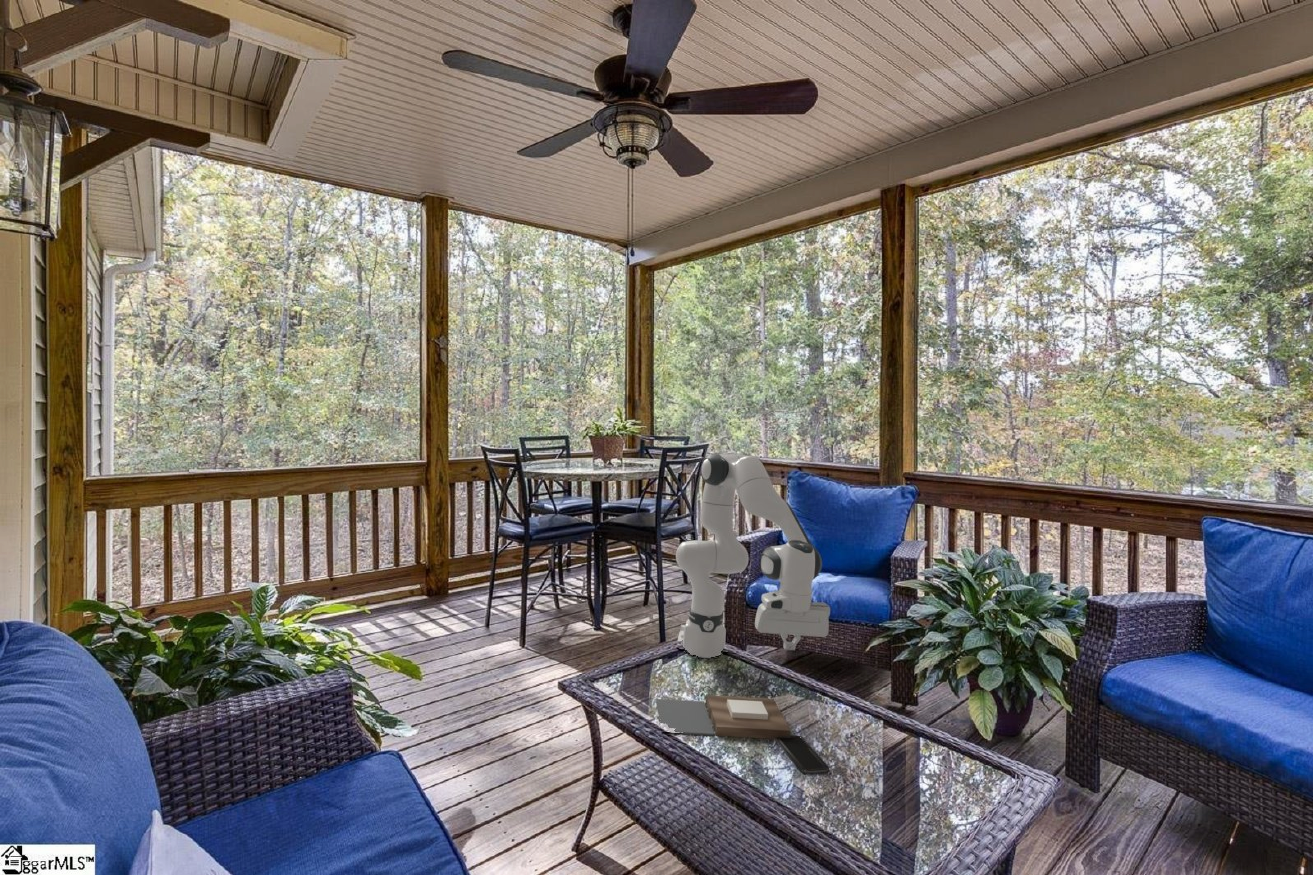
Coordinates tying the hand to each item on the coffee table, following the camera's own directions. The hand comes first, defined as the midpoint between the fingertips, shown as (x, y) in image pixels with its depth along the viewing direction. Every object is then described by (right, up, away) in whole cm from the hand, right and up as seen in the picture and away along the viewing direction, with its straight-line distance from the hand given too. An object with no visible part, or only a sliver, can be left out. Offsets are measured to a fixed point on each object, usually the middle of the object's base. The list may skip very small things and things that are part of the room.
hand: (789, 649), depth 168 cm
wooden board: (-12, -20, 0) cm, 23 cm away
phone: (0, -23, -14) cm, 27 cm away
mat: (-29, -18, -1) cm, 35 cm away
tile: (-12, -18, 0) cm, 21 cm away
